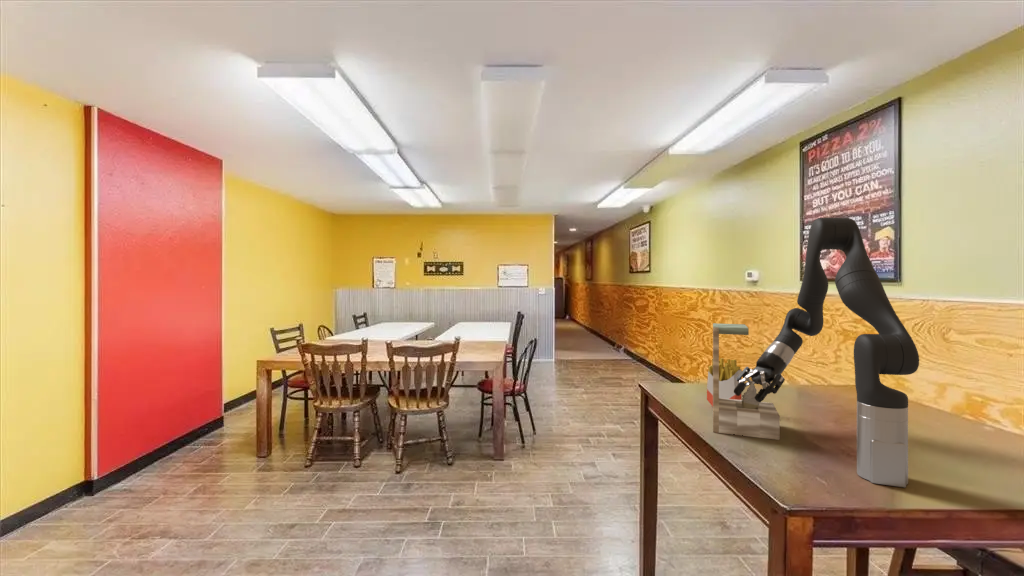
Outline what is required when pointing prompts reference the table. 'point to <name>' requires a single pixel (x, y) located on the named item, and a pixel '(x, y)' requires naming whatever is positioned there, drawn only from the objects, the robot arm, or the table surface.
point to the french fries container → (724, 380)
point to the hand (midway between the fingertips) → (746, 397)
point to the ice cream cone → (750, 398)
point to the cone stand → (740, 401)
